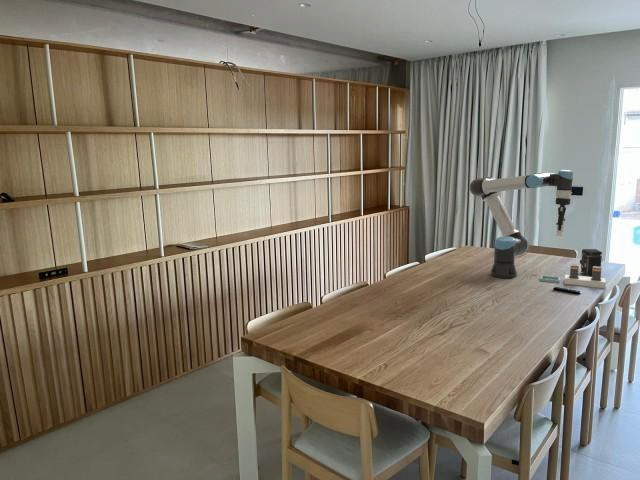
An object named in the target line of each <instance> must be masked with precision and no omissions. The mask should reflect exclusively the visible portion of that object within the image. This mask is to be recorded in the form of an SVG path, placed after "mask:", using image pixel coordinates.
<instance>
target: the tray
mask: <svg viewBox="0 0 640 480" xmlns="http://www.w3.org/2000/svg"><path fill="white" fill-rule="evenodd" d="M539 279H540V282H546V283H547V282H548V283H556V284H558V283H559V284H560V282H561V277H560V276H553V275H541V276H540V278H539Z"/></svg>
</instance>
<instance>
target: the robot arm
mask: <svg viewBox="0 0 640 480" xmlns="http://www.w3.org/2000/svg"><path fill="white" fill-rule="evenodd" d="M573 173H574V171H572V170H571V169H560V170H558V172H556V173H552V172H538V173H535V174H534V173H533V174H529V175H520V176H519V175H518V176H511V177H504V178H495V177H491V176H487V177H479V178H475V179H473V180H472V181H471V182H470V183H469V190H470V193H471V194H472V195H473V196H475V197H481V200H482V201H483V202H485V203H487V206H488V208H489V210H490V213H491V214H492V216H493V218H494V221H495V223H496V225H497V226H498V228H499V231H500V232H501V235H502V236H499V237H497V238H496V239H495V241H494V245H493V247H494V251H493V253H494V255H493V264H492V265H491V266H492V267H491V269H490V276H491V277H494V278H498V279H514V278H516V277H518V272H517V267H516V266H515V265H516V264H515V258H516V257H517V256H521V255H523V254H524V253H526V252H527V251H528V250H529V246H530V244H529V243H530V242H529V240H528V238H527V237H526V236H525V235H522V233H521V231H520V230H517V228H516V227H515V225H514V223H513V221H512V219H511V217H510V214H509V212H508V211H507V208H506V207H505V205H504V202H503V201H502V199H501V192H507V191H516V190H525V189H536V188H537V189H538V188H543V187H556V191H555V205H559V206H558V208H557V213H558V214H557V222H556V224H555V225H556V237H563V235H562V234H563V233H564V223H565V221H566V219H565V215H566V211H567V207H566V206H569V205H571V196H572V194H573V192H572V188H573V179H574V174H573Z"/></svg>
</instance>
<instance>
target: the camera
mask: <svg viewBox="0 0 640 480" xmlns="http://www.w3.org/2000/svg"><path fill="white" fill-rule="evenodd" d="M602 253H603V252H602V251H601V250H599V249H597V248H582V249H581V259H580V260H579V264H580V272H581V273H582V274H584V275H586V276H590V275H591V276H592V272H593V266H597V267H601V268H602V261H603V260H602V258H603V256H602Z"/></svg>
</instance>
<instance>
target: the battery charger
mask: <svg viewBox="0 0 640 480" xmlns="http://www.w3.org/2000/svg"><path fill="white" fill-rule="evenodd" d="M601 276H602V266H601V267H597V266H593V272H592V275H591V276H583V275H578V279H574V278H570V274H564V284H565V285H573V286H575V285H576V286H584V287H585V286H586V287H591V288H598V289H599V288H600V289H606V283H607V280H606V278H604V277H601Z"/></svg>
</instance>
